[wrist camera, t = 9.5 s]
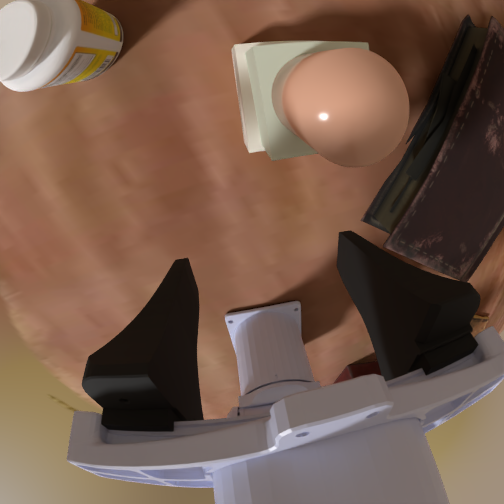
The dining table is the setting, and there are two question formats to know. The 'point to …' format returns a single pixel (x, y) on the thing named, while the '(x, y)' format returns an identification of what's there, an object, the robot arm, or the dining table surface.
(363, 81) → the peach rounded lump
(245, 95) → the cream base slab
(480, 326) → the shard
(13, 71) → the supplement bottle
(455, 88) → the diary
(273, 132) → the sage middle block
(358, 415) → the robot arm
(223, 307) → the dining table surface
